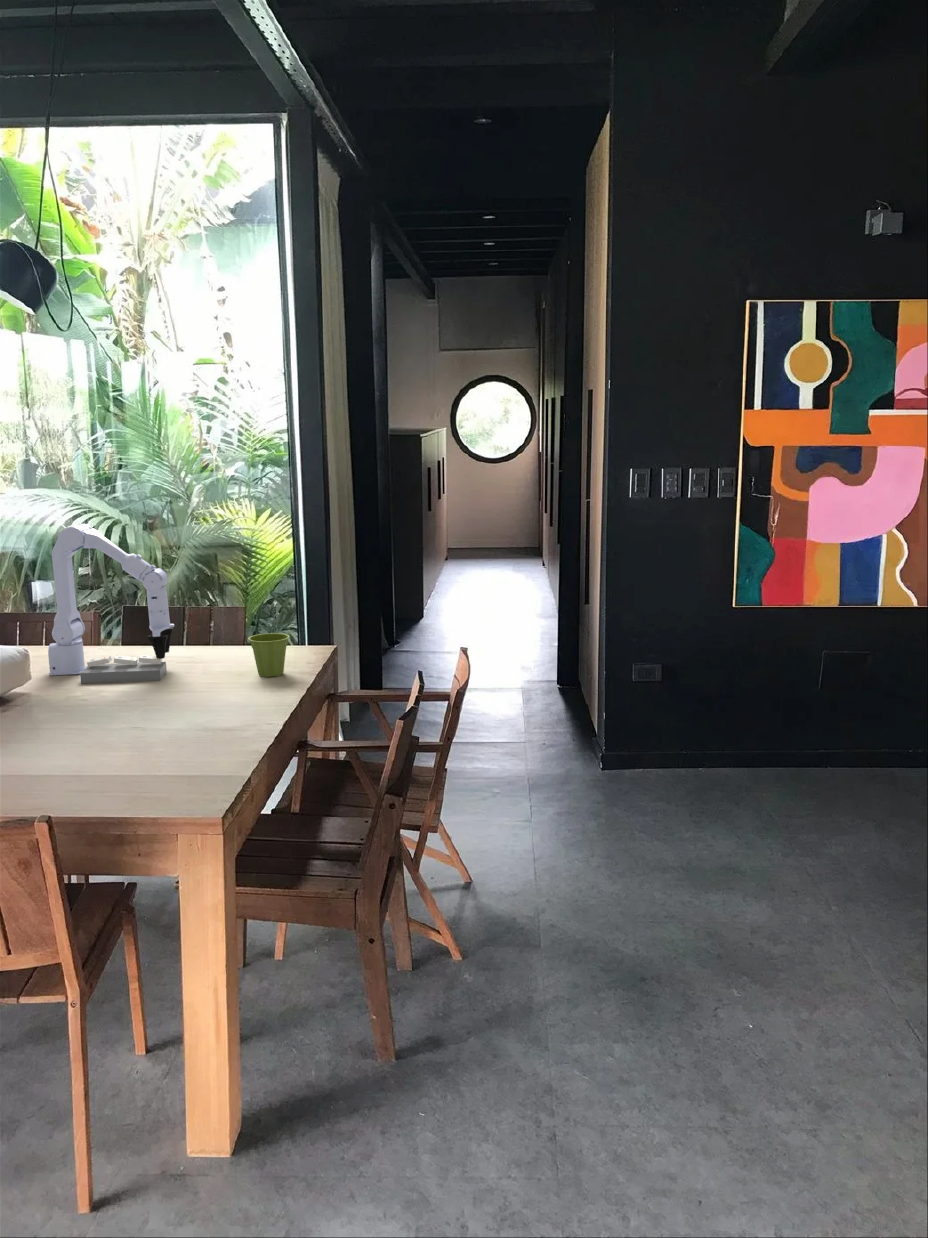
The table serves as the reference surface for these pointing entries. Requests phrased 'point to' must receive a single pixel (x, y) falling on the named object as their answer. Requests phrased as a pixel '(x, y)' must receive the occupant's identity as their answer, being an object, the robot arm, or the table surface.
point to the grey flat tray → (123, 672)
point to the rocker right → (149, 659)
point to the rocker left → (99, 661)
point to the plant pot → (269, 653)
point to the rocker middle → (126, 660)
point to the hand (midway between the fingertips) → (163, 655)
